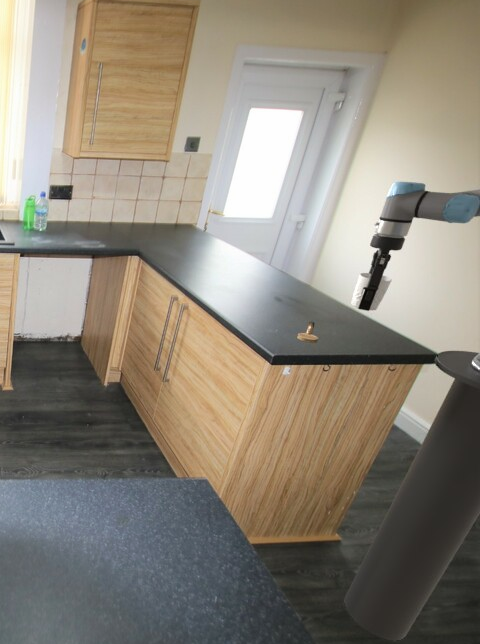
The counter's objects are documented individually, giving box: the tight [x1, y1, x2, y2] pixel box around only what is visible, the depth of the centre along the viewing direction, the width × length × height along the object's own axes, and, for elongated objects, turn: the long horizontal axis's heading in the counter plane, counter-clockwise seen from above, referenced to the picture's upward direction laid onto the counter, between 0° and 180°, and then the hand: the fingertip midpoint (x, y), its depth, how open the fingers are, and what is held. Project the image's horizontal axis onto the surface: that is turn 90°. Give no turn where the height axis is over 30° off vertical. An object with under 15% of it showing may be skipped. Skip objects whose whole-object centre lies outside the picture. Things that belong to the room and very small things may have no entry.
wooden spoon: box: [296, 321, 319, 344], centre depth 163 cm, size 19×6×2 cm, turn 142°
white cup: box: [350, 272, 392, 311], centre depth 149 cm, size 8×8×10 cm
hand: (363, 306), depth 151 cm, fingers closed on white cup, 8 cm apart
